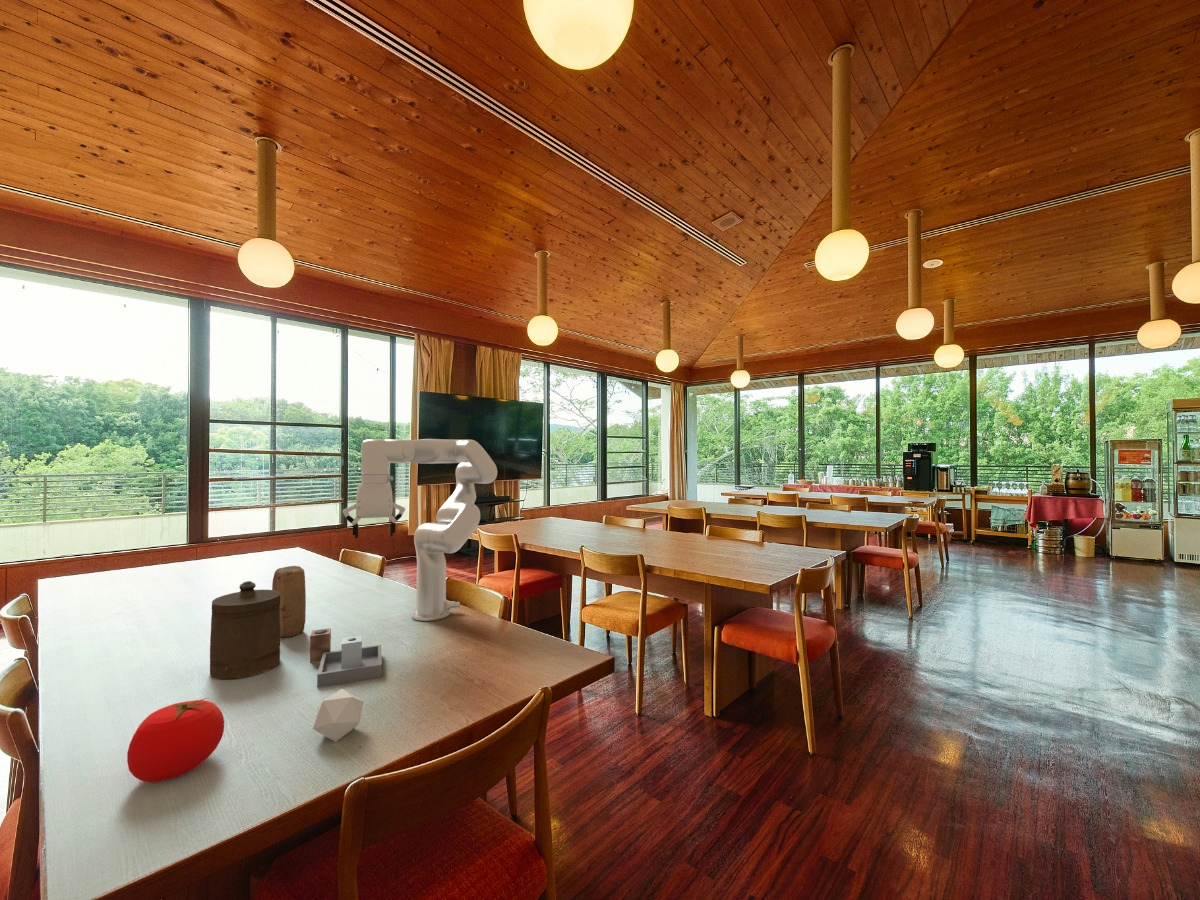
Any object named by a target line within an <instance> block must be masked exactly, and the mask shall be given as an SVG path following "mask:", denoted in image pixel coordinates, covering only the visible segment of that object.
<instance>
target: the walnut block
mask: <svg viewBox="0 0 1200 900" xmlns="http://www.w3.org/2000/svg"><path fill="white" fill-rule="evenodd" d="M331 631H332V629H331V628H323V629H321V628H320V629H314V630H311V633H310V635H309V636H310V638H309V639H310V641H309V643H310V644H309V646H310V647H309V663H314V662H316V663H317V662H321V659H322V655H323V653H325V652H332V651H331V648H332V646H331V643H332V637H331V635H332V632H331Z"/></svg>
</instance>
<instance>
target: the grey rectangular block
mask: <svg viewBox="0 0 1200 900" xmlns="http://www.w3.org/2000/svg"><path fill="white" fill-rule="evenodd" d="M362 647H363V635H356V636H347V637H342V641H341V650H342V658H341V670H342V669H348V668H355V667H361V665H362Z"/></svg>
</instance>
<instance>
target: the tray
mask: <svg viewBox="0 0 1200 900" xmlns="http://www.w3.org/2000/svg"><path fill="white" fill-rule="evenodd" d="M341 658H342V649H341V650H339V649H338V650H333V651H331V652H325V653H323V655H322V659H321V661H319V667H318V670H317V674H316V675H317V678H316V681H317V682H316V688H320V687H325V686H333V685H339V684H345V683H351V682H357V681H364V680H369V679H375V678H376V679H377V678H381V677H382V674H383V673H382V670H383V669H382V663H383V662H382V644H377V645H375V644H374V645H370V646H362V665H361V667H355V668H348V669H342V670H341Z"/></svg>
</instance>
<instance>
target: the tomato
mask: <svg viewBox="0 0 1200 900" xmlns="http://www.w3.org/2000/svg"><path fill="white" fill-rule="evenodd" d="M208 698H210V697H206V698H202V699H193V700H188V701H182V702H177V703H172V704H169V705H167V706H164V707H162V708H159V709H157V710H155V711H154V712H151V713H150V714H148V716H147V717H145V718H144V720H142V722H141V723H140V724H139V725H138V727H137V729H136V730H135V732H134V734H133V735H132V738H131V741H130V742H129V746H128V749H127V754H126V755H127V756H126V757H127V758H126V759H127V760H126V762H127V767H128V771H129V772H130V773H131V775H132V776H133V777H134V778H135V779H137V780H138V781H141V782H145V783H146V782H147V783H160V782H165V781H169V780H173V779H176V778H179V777H181V776H183V775H186V774H188V773H190V772H191V771H194V769H196V768H197V767H199V766H200V765H202V764H203V763H204V762H205V761H206V760H207V759H208V758H209V757H210V756H211V755H212V754H213V753H214V751H215V750H216V749H217V748H218V745H219V744H220V742H221V741H222V738H223V736H224V732H225V718H224V715H223V712H222V710H221V709H220V707H219V706H217V705H216V704H215V703H213V702H212V701H208V700H206V699H208Z"/></svg>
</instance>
